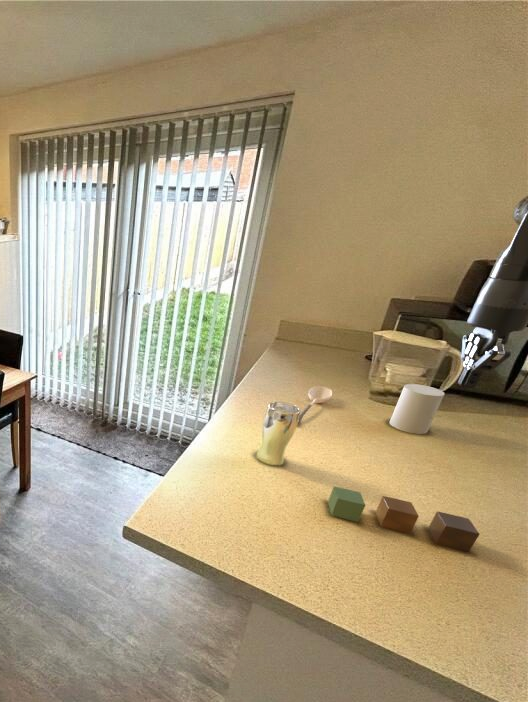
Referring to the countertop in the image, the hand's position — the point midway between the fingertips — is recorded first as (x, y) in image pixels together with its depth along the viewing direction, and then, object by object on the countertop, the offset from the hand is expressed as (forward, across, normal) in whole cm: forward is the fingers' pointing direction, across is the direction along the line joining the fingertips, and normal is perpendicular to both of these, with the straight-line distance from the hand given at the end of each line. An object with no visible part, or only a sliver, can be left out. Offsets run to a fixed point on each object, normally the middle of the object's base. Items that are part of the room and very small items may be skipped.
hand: (465, 385), depth 81 cm
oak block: (+25, -19, +9) cm, 33 cm away
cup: (+25, +33, -6) cm, 42 cm away
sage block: (+25, -20, +17) cm, 36 cm away
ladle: (+25, +33, +18) cm, 45 cm away
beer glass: (+25, -4, +30) cm, 39 cm away
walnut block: (+25, -20, +1) cm, 32 cm away
